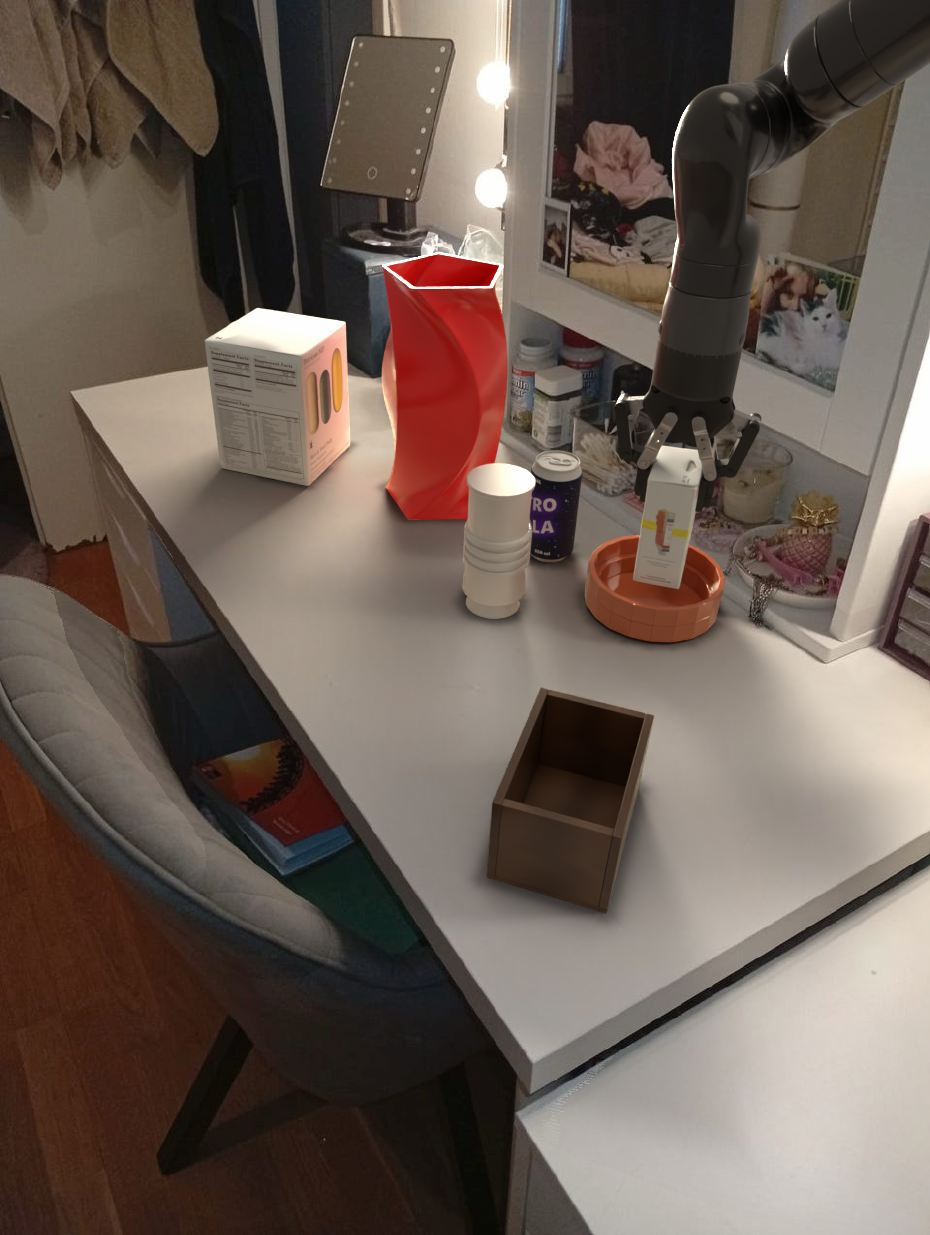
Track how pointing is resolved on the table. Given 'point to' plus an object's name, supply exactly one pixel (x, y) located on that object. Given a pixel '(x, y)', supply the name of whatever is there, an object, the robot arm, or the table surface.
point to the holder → (568, 799)
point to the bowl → (652, 594)
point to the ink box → (668, 517)
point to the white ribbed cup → (497, 539)
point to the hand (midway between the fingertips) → (671, 502)
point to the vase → (442, 379)
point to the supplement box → (280, 394)
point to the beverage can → (554, 504)
